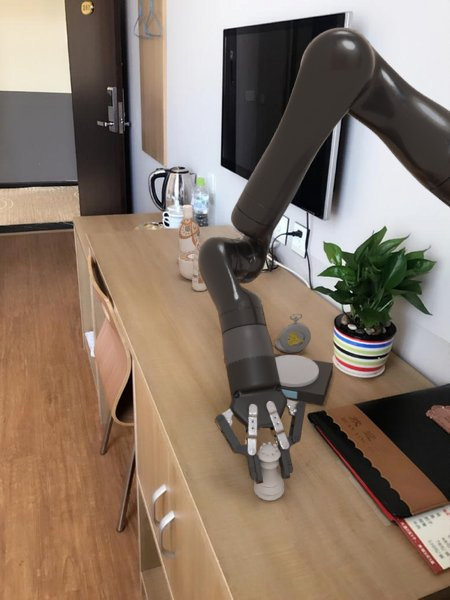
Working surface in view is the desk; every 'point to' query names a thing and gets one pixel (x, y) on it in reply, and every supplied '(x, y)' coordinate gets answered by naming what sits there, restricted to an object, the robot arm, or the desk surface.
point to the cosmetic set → (190, 249)
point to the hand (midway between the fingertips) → (273, 480)
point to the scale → (304, 378)
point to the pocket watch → (293, 337)
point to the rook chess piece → (269, 473)
